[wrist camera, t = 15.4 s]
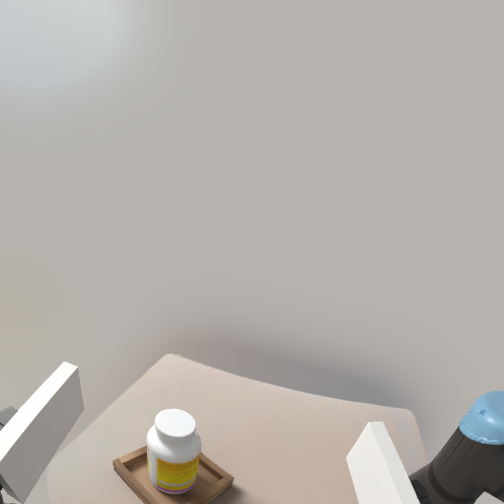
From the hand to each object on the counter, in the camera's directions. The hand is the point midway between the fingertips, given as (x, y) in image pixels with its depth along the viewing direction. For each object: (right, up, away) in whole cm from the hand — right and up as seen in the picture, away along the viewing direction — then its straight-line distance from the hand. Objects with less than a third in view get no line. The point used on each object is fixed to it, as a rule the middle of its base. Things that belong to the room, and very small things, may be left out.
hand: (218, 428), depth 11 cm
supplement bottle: (-10, -24, +20) cm, 33 cm away
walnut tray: (-10, -25, +21) cm, 34 cm away
